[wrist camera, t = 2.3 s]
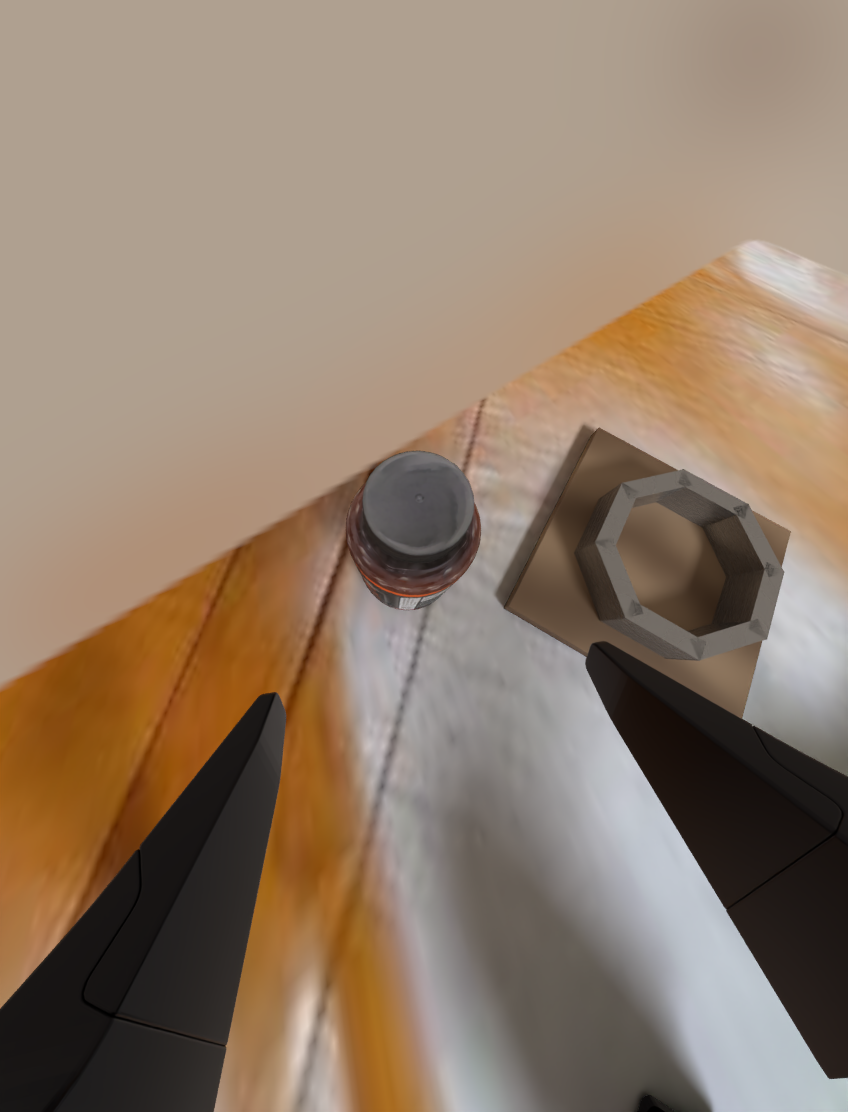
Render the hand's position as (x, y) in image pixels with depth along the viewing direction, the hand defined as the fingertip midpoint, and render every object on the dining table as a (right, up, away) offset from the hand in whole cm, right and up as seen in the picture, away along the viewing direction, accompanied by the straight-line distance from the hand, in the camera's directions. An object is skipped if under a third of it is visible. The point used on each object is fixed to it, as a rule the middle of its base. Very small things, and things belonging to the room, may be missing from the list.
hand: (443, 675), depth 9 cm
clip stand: (+16, +2, +14) cm, 21 cm away
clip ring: (+16, +2, +14) cm, 21 cm away
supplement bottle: (-2, +2, +13) cm, 14 cm away
